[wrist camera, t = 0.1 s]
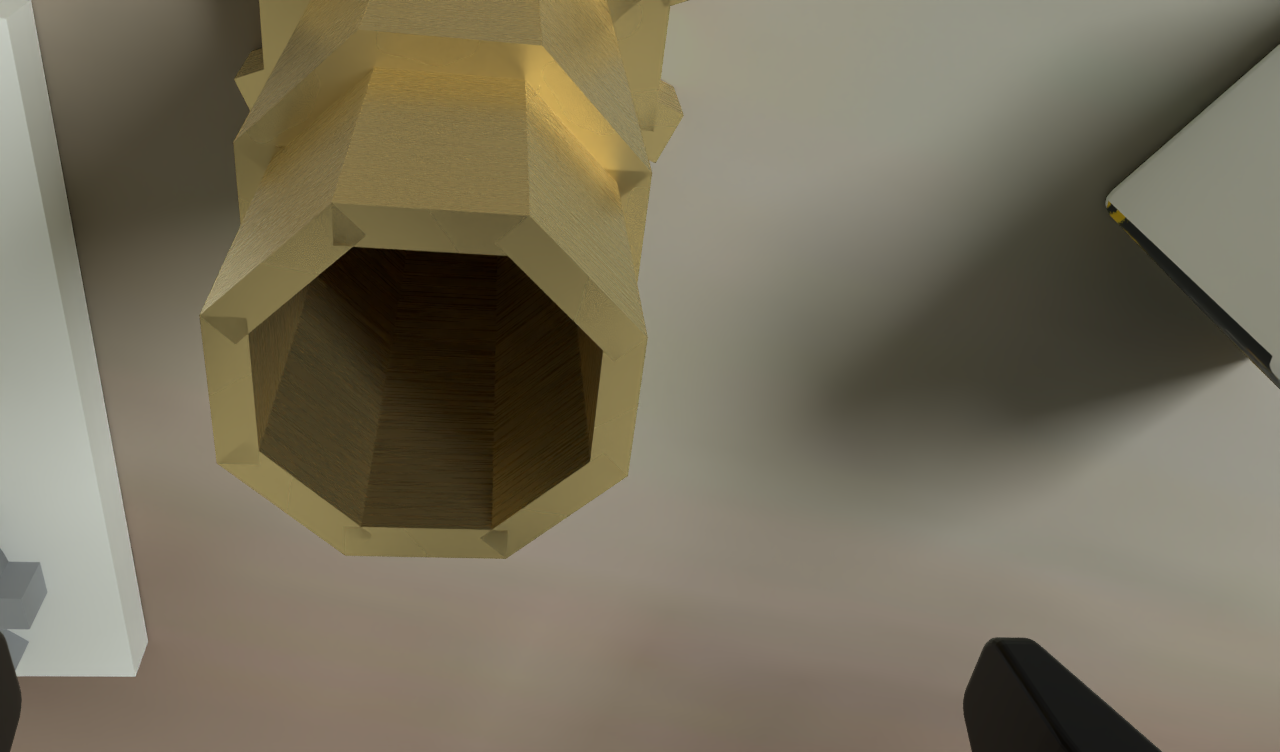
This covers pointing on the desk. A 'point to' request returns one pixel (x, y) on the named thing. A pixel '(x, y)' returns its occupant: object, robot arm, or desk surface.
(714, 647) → the desk surface
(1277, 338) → the white pill bottle
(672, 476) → the desk surface
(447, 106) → the yellow octagonal tube
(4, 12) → the gear board
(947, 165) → the desk surface
